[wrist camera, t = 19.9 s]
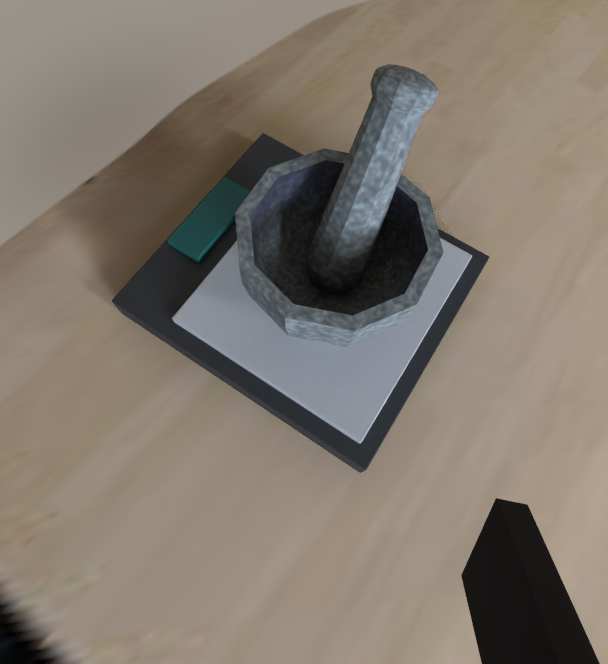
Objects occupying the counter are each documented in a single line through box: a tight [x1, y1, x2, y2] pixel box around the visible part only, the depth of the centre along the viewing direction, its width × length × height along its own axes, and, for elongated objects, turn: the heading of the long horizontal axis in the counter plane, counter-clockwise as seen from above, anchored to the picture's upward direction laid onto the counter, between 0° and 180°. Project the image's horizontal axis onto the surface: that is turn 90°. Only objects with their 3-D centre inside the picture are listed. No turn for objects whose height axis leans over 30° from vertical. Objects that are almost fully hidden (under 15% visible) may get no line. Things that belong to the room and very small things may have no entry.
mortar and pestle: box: [235, 65, 444, 347], centre depth 22 cm, size 11×9×12 cm
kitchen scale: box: [112, 133, 489, 473], centre depth 29 cm, size 18×16×3 cm
